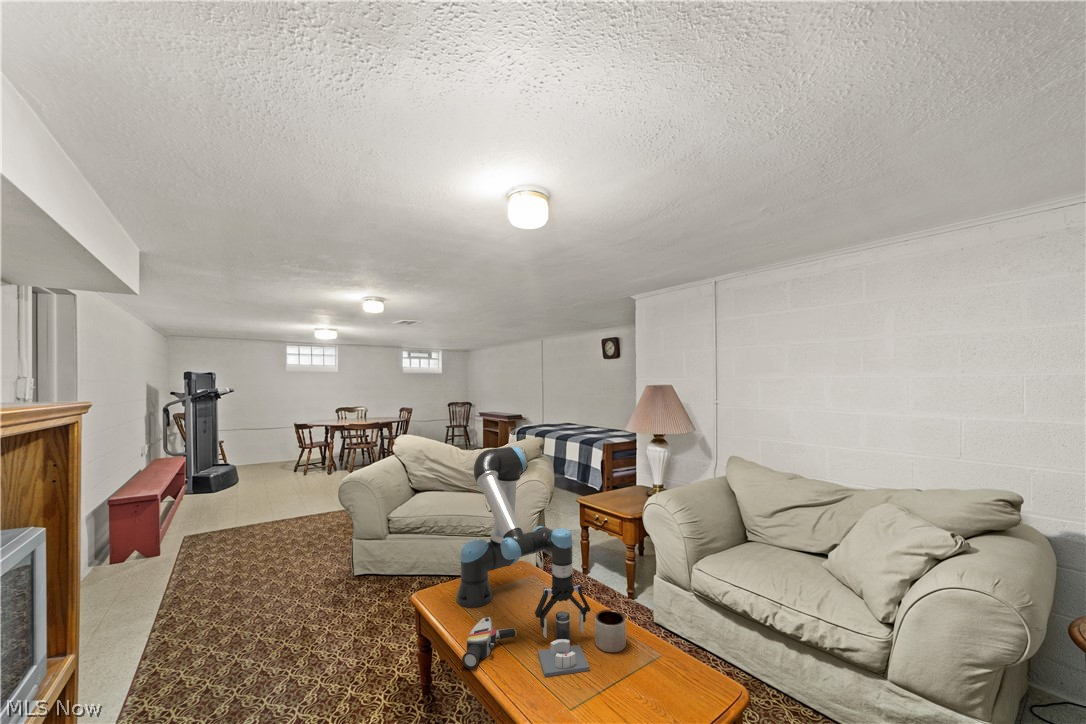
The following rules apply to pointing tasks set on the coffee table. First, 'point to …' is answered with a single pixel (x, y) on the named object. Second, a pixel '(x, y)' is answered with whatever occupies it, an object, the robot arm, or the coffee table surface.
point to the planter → (610, 631)
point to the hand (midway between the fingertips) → (563, 633)
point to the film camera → (483, 641)
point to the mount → (562, 659)
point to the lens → (562, 625)
